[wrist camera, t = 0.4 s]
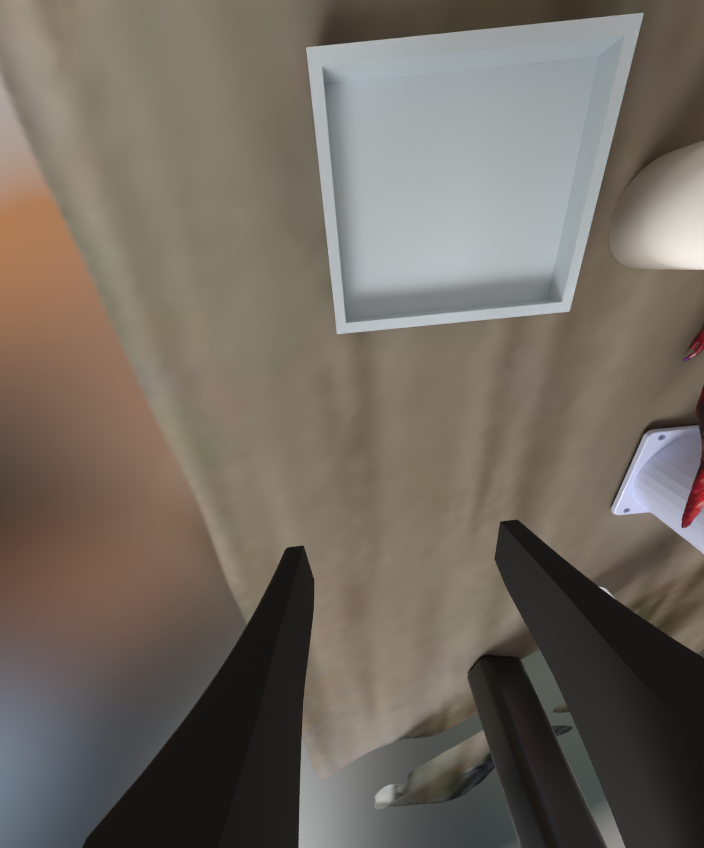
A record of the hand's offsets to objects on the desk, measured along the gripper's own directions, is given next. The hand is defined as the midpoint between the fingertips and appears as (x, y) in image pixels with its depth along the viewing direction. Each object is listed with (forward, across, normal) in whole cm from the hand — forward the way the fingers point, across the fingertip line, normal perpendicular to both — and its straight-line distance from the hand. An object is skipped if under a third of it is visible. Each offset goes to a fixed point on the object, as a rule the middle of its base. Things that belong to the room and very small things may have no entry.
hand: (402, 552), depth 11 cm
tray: (+10, -5, -11) cm, 16 cm away
